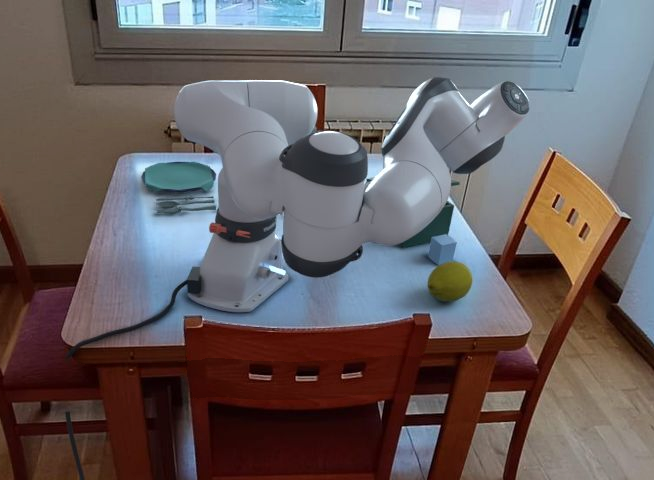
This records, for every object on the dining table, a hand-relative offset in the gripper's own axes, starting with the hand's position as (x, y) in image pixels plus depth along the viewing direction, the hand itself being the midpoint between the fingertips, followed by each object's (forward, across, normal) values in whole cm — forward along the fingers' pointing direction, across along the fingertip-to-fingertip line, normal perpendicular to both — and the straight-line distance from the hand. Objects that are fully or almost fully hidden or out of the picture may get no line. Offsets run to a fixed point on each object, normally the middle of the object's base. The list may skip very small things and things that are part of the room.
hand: (429, 167), depth 137 cm
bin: (+16, 0, -8) cm, 18 cm away
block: (+5, -1, -20) cm, 21 cm away
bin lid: (+8, 0, 0) cm, 8 cm away
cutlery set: (+43, -45, +19) cm, 65 cm away
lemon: (-4, -10, -30) cm, 32 cm away
